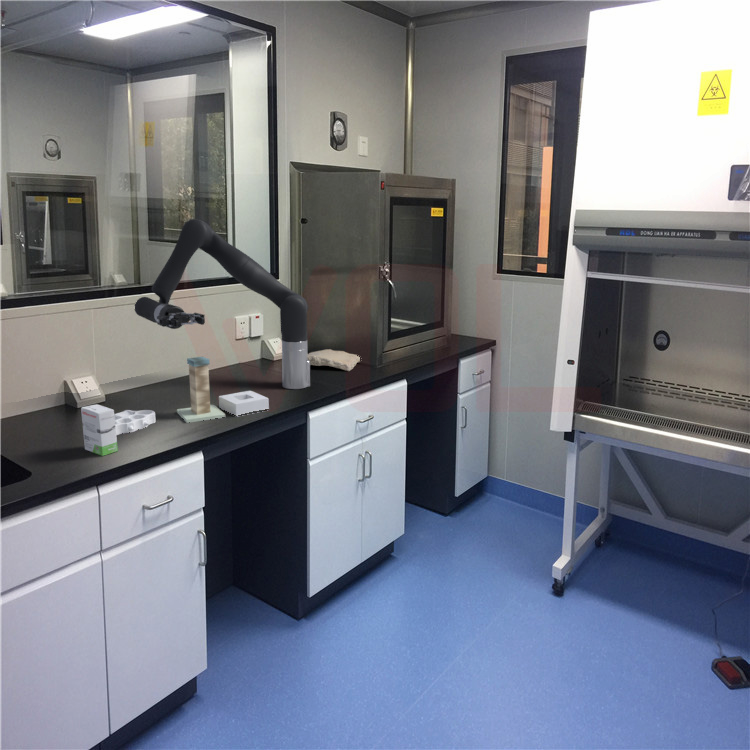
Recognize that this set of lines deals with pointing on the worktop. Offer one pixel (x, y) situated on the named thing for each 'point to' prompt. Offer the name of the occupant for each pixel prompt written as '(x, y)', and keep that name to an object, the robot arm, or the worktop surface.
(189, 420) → the pad
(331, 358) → the flat sandstone piece
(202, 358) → the plug
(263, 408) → the white square stand
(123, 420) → the white multi-hole tray
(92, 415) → the ink box
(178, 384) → the worktop surface
